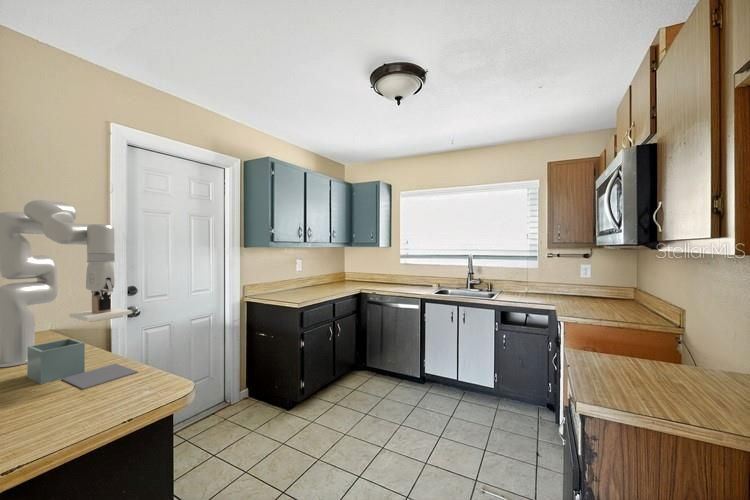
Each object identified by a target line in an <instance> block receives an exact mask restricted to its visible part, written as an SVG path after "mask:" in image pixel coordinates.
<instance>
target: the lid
mask: <svg viewBox="0 0 750 500" xmlns="http://www.w3.org/2000/svg"><path fill="white" fill-rule="evenodd" d="M99 299H100V295H94V296H92V295H91V310H87V311H86V310H85V311H79V312H71V313H69V318H71V319H77V320H81V321H84V322H89V323H94V322H101V321H107V320H114V319H119V318H124V316H126V315H132V314H133V311H132V310H131V309H125V308H119V307H111V309H109V310H103V311H100V310H99Z"/></svg>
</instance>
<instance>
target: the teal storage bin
mask: <svg viewBox="0 0 750 500" xmlns="http://www.w3.org/2000/svg"><path fill="white" fill-rule="evenodd" d="M85 345H86V344H85V342H83V341H80V340H77V339H73V338H70V337H69V338H66V339H61V340H54V341H48V342H45V343H44V342H43V343H39V344H35V345H33V346H28V363H27V378H28V379H30V380H32V381H34V382H36V383H38V384H39V385H43V384H47V383H51V382H54V381H58V380H62V378H65V377H69V376H73V375H76V374H80V373H84V372H86V371H85V369H86V367H85V359H86V357H85V354H86V353H85Z"/></svg>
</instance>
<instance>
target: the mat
mask: <svg viewBox="0 0 750 500" xmlns="http://www.w3.org/2000/svg"><path fill="white" fill-rule="evenodd" d="M137 373H139V371H138V370H135V369H133V368H132V369H131V368H129V367H126V366H123V365H120V364H117V363H113V364H110V365H107V366H103V367H98V368H94V369H92V370H88V371H85V372H84V373H80V374H76V375H73V376H69V377H65V378H62V379H61V381H63V382H66V383H67V384H70V385H72V386H75V388H76V387H77V388H78V389H81V390H83V391H84V390H87V389H89V388H93V387H96V386H99V385H102V384H105V383H106V384H107V383H108V382H112V381H115V380H118V379H122V378H124V377H128V376H132V375H134V374H137Z"/></svg>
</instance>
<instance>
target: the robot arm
mask: <svg viewBox="0 0 750 500" xmlns="http://www.w3.org/2000/svg"><path fill="white" fill-rule="evenodd" d="M76 218H77V211H76V209H75V207H74V206H73V205H72V204H69V203H66V202H61V201H60V202H59V201H52V200H41V199H40V200H39V199H37V200H31V201H29V202H27V203H26V204H24V206H23V211H2V212H0V275H1V277H2V278H4V279H6V280H28V279H36V281H23V282H12V283H8V284H7V283H5V284H3V285H1V286H0V368H8V367H15V366H21V365H25V364H28V346H33V345H36V336H35V335H36V324H35V323H36V319H35V318H36V317H35V314H34V313H33V311H31V310H30V308H28V306H33V305H41V304H42V305H43V304H47V303H48V304H49V303H51V302H53V301H55V300H56V299H57V297H58V293H59V292H58V290H59V289H58V268H57V267H58V266H57V263H56V261H55V260H54V258H52V257H51V256H49V255H43V254H39V255H33V254H32V248H31V247H32V246H31V243H30V242H29V240H28V239H27V238H26V237H25V236H23V234H29V235H30V234H32V235H33V234H34V235H44V236H45V237H46V238H48V239H49V240H51V241H53V242H55V243H57V244H60V245H85V246H86V263H87V265H86V266H87V267H86V276H85V277H86V278H85V279H86V280H85V289H86V290H87V291H91V297H92V296H94V295H100V299H99V310H100V311H103V310H109V309H111V308H112V293H113V292H114V288H115V284H116V283H115V280H116V279H115V268H114V263H115V261H116V260H115V256H116V255H115V254H116V253H115V227H114V226H113V225H111V224H104V223H103V224H102V223H87V224H86V223H77V222H76V223H75V220H76Z"/></svg>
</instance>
